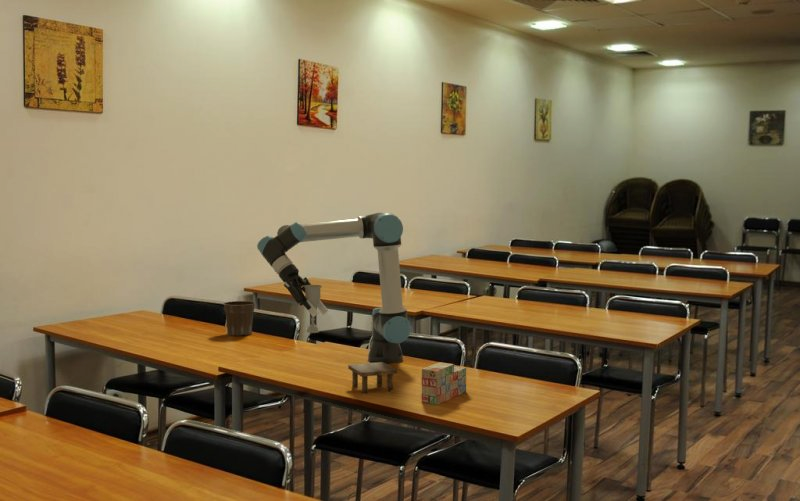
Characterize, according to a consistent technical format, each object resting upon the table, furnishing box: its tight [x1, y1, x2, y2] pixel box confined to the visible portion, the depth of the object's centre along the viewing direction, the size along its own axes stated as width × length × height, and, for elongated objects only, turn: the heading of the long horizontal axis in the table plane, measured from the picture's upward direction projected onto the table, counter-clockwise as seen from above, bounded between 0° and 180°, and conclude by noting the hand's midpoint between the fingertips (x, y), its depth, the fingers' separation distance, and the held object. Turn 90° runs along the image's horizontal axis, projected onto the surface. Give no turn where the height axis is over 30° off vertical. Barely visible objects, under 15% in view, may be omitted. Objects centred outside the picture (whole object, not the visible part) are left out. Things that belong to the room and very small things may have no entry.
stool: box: [347, 362, 398, 394], centre depth 300 cm, size 14×14×8 cm
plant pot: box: [223, 300, 256, 337], centre depth 409 cm, size 16×16×16 cm
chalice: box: [304, 284, 322, 334], centre depth 313 cm, size 7×7×18 cm
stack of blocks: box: [421, 361, 467, 406], centre depth 288 cm, size 21×6×12 cm, turn 146°
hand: (320, 313), depth 311 cm, fingers closed on chalice, 6 cm apart
